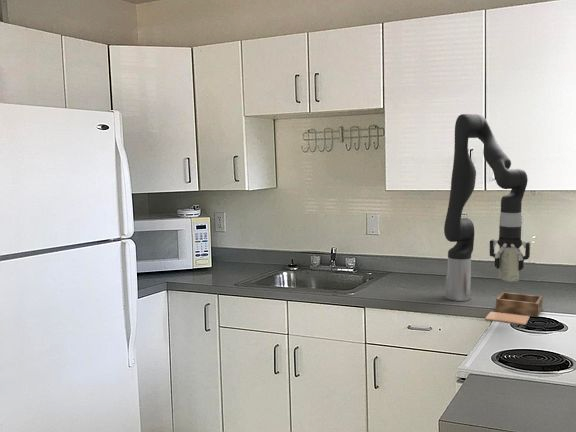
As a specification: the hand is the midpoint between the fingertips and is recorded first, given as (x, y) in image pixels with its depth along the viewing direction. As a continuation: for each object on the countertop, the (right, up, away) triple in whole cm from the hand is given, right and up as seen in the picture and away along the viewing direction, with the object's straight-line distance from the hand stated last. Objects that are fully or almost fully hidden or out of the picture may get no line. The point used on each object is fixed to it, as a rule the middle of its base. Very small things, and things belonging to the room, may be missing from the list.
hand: (508, 269), depth 228 cm
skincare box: (0, -4, +1) cm, 4 cm away
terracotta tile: (0, -18, +2) cm, 19 cm away
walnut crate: (+8, -17, +13) cm, 23 cm away
